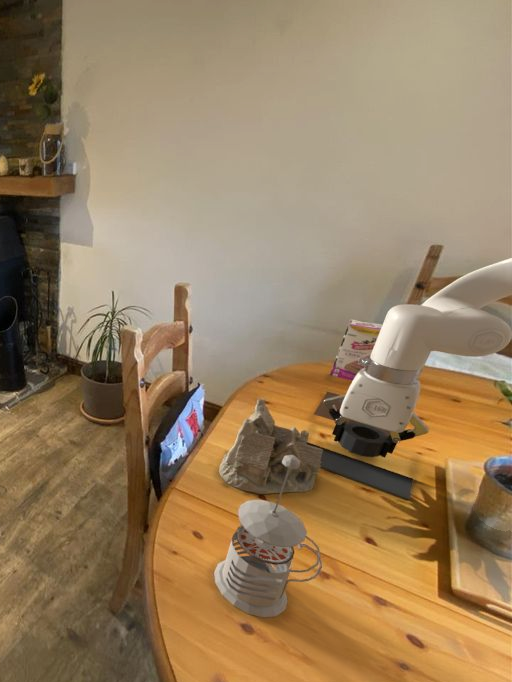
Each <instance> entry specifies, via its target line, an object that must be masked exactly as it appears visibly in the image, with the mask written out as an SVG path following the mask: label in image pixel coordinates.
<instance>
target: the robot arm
mask: <svg viewBox="0 0 512 682" xmlns="http://www.w3.org/2000/svg"><path fill="white" fill-rule="evenodd" d="M510 296H512V257H510V258H507V259H504V260H500V261H498V262H495V263H492V264H490V265H487V266H484V267H480V268H478V269H476V270H474V271H471V272H468V273H467V274H464V275H463V276H461V277H459V278H457V279H455V280H454V281H453V282H451V283H449V284H448V285H446V286H445V287H443V288H442V289H440V290H439V291H437V292H436V293H434V294H433V295H431V296H430V297H429V298H428V299H426V300H425V301H424V302H423V303H422V304H410V303H409V304H408V303H407V304H404V303H403V304H397V305H395V306H392V307H391V308H390V309H389V310H388V312H387V313H386V315H385V317H384V320H383V323H382V328H381V330H380V333H379V335H378V338H377V340H376V343H375V345H374V348H373V350H372V353H371V356H370V357H368V358H359V360H358V363H357V364H360V365H362V366H364V368H363V369H361V370H360V371H359V372H358V374H357V375H356V376H355V378H354V380H351V381H352V382H351V383H350V385H349V387H348V389H347V391H346V393H343V394H339V395H340V396H336V397H332V398H328V399H325V401H324V405H325V406H326V408H327V410H328V411H329V414H330V415H331V416H332V418H333V419H334V420H335V421H334V420H333V421H334V423H335V425H334V427H333V430H332V433H331V435H332V436H334V439H333V442H335V443H336V442H338V440H339V438H340V435H341V433H342V430H343V428H344V426H345V424H346V421H347V420H349V419H350V420H353V421H357V422H360V423H363V424H366V425H370V426H373V427H377V428H380V429H383V430H387V431H390V435H389V437H388V440H387V443H386V445H385V447H384V449H383V451H382V454H381V455H380V457H381V458H384V459H385V458H386V457H387V455H388V454H391V455H393V452H394V450H395V449H396V447H397V444H399V443H401V442H403V441H407V440H411V439H414V438H416V437H420V436H423V435H426V434H428V433H429V431H430V428H429V426H428V425H426V423H425V422H423V420H422V419H421V418H420V417H419V416H418V415H417V414H416V412H415V410H416V407H417V404H418V401H419V398H420V393H421V389H422V384H421V382H420V381H419V378H420V376H421V374H422V372H423V369H424V367H425V366H426V364H427V361H428V359H429V357H430V355H431V353H432V352H439V353H444V354H449V355H450V354H451V355H455V356H461V357H469V358H473V357H476V358H477V357H485V356H490V355H493V354H497V353H498V352H500V351H502V350H503V349H505V348H506V347H507V346H508V345H509V344H510V342H511V340H512V329H511V326H510V325H509V324H508V323H507V322H506V320H505V321H504V320H503V319H502V318H501V317H498V316H496V315H494V314H492V313H490V312H487V311H485V310H483V309H482V308H484V307H486V306H488V305H489V304H491V303H493V302H496V301H499V300H502V299H504V298H507V297H510ZM339 403H342V405H341V408H340V411H339V410H338V409H337V408H336V407H335V404H339ZM409 423H410V424H411V425H412V426H413V427H412V428H409V429H407V427H408V426H409Z"/></svg>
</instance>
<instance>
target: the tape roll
mask: <svg viewBox="0 0 512 682" xmlns="http://www.w3.org/2000/svg"><path fill="white" fill-rule="evenodd" d="M387 440H388V436H387V435H386V434H385V433H384V432H383V431H381V430H379V429H377V428H375V427H373V426H369V425H366V424H362V423H348V424H345V426H344V428H343V430H342V433H341V435H340V438H339V440H338V441H337V442H338V443H339V445H340V447H342V448H343V449H344V450H346V451H348V452H349V453H351V454H355V455H357V456H360V457H364V458H376V457H381V454H382V451H383V449H384V447H385V445H386V443H387Z"/></svg>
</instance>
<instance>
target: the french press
mask: <svg viewBox="0 0 512 682" xmlns="http://www.w3.org/2000/svg"><path fill="white" fill-rule="evenodd" d="M282 463H283V464H284V465H285V466H286V467H289V468H288V471H287V474H286V477H285V480H284V483H283V486H282V489H281V492H280V493H279V495H278V497H277V501H276V502H273V501H270V500H269V501H268V500H263V499H251V500H250V499H249V500H246V501H245V502H243V503H241V504H240V506H239V508H238V510H237V515H238V520H239V522H240V523H241V525H239V526H238V527H237V528H236V531H235V532H234V533H233V534H232V537H231V539H230V544H229V546H228V551H227V553H226V558H225V559H223V560H222V561H221V562H219V563H217V565H216V567H215V569H214V571H213V575H214V583H215V585H216V587H217V588H218V591H219V592H220V594H221V595H222V597H224V598H225V599H226V600H227V601H228V602H229V603H230V604H231V605H232V606H234V607H235V608H237V609H239V610H240V611H242V612H243V613H246V614H247V615H251V616H256V617H259V618H262V619H263V618H273V617H278V616H280V615H281V613H283V612H285V611H286V608H287V604H288V601H289V600H288V596H287V592H286V589H287V586H288V584H289V583H291V582H296V583H297V582H299V583H302V582H309V581H311V580H313V579H315V578H317V576H319V575H320V572H321V571H322V568H323V562H322V559H321V558H322V556H321V550H320V547H319V545H317V543H316V542H315V540H313V539H311V538H310V537H308V535H307V533H308V531H307V529H306V526H305V523H304V522H303V520H301V518H299V516H298V515H297V514H295V512H292V511H291V510H290V509H288V508H286V507H285V506H283V505H281V504H279V503H280V501H281V497H282V494H283V493H282V492H283V489H284V486H285V483H286V480H287V477H288V474H289V471H290V468H292V469H297V468H299V465H300V460H299V459H298V458H297V457H296V456H294V455H287V456H285V457H284V458H283V461H282ZM305 540H308V541H310V542H311V543H312V545H314V547H315V548H316V550H315V549H314V548H312V547H311V546H310V545H308V544H306V543H303V542H305ZM235 541H236V542H235ZM237 545H239V546H237ZM235 546H236V547H235ZM294 547H297V548H298V550H299V551H301V550H302V548H303V547H306V548H308V549H309V550H310V551H312V553H313V554H314V555H315V556H316V558H317V560H316V562H315V563H314V564H312V565H311V566H310V567H308V568H307V569H302V570H298V569H296V570H295V569H293V564H294V563H293V560H294V556H295V548H294ZM239 550H241V551H239ZM245 554H248V555H245ZM240 555H241V556H240ZM318 565H319V567H318V568H317V570H316V572H315V574H313V575H312V576H310V577H309V578H304V579H303V578H302V579H296V578H294V579H293V578H289V576H290V573H306V572H310V571H312V570H314V568H316V567H317V566H318ZM273 567H274V568H273Z"/></svg>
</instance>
